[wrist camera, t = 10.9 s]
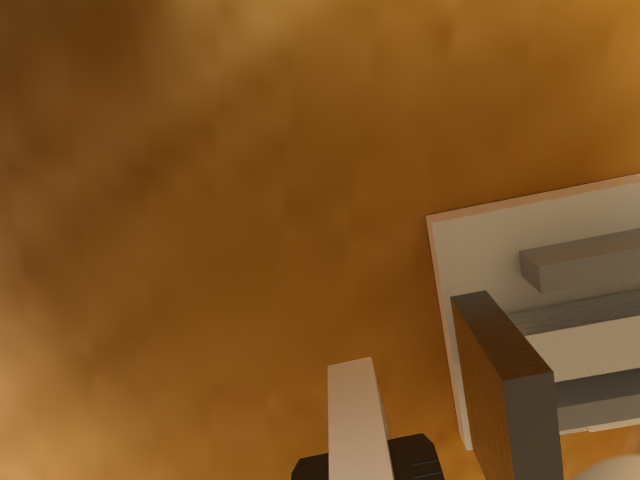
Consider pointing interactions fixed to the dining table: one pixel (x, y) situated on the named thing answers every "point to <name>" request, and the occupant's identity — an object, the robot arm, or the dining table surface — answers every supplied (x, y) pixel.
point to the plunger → (534, 373)
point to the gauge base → (546, 279)
